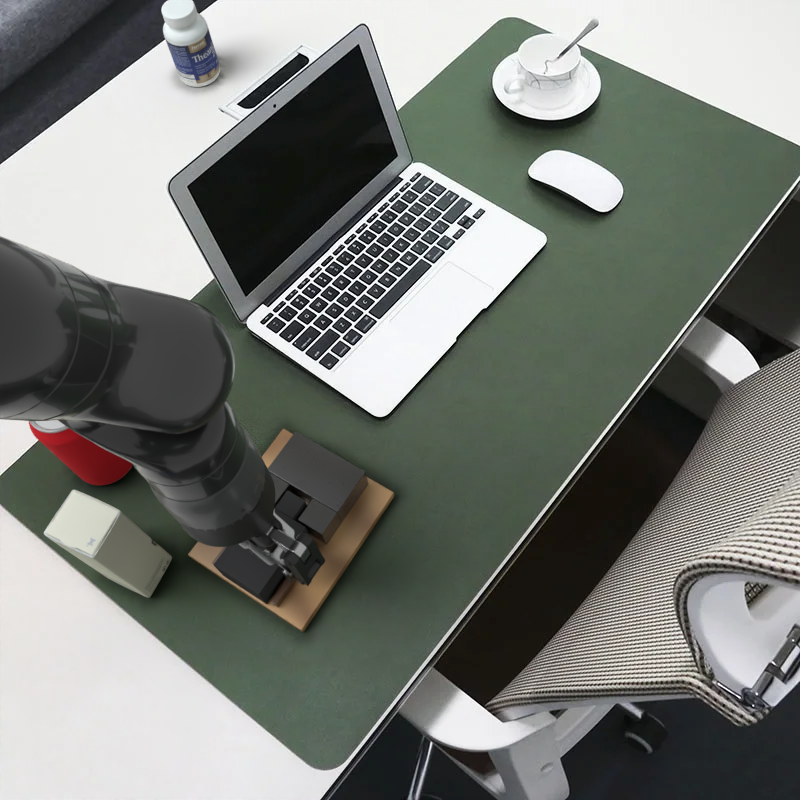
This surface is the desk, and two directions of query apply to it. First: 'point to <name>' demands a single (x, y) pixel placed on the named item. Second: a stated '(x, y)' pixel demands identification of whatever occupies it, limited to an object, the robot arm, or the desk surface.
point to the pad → (250, 569)
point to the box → (108, 543)
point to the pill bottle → (189, 43)
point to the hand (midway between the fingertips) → (259, 547)
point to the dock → (331, 553)
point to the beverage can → (80, 453)
